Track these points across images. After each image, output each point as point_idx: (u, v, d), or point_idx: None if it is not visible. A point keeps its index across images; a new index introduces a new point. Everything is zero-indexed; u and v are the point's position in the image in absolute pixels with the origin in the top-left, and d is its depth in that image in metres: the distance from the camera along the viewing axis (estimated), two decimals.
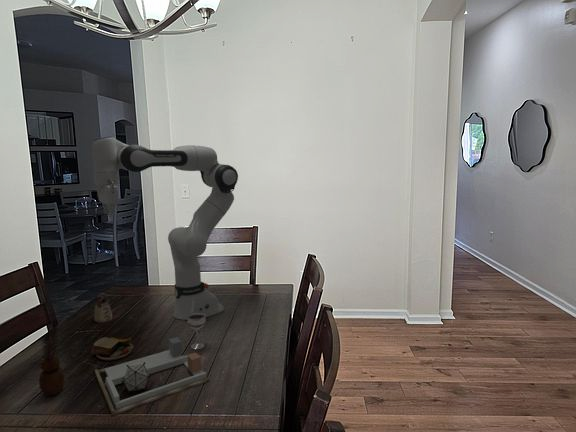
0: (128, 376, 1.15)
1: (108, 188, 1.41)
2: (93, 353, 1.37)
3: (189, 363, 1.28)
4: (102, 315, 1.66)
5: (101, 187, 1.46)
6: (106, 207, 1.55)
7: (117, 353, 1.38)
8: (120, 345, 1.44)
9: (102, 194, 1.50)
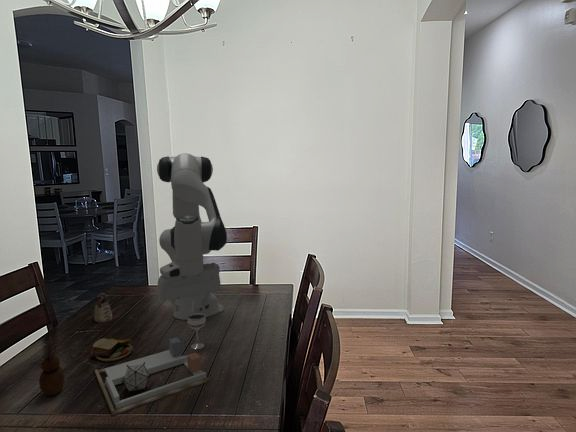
0: (128, 376, 1.15)
1: (217, 271, 1.28)
2: (92, 354, 1.36)
3: (189, 363, 1.28)
4: (102, 315, 1.66)
5: (198, 275, 1.23)
6: (174, 303, 1.23)
7: (117, 354, 1.37)
8: (119, 346, 1.43)
9: (189, 285, 1.23)
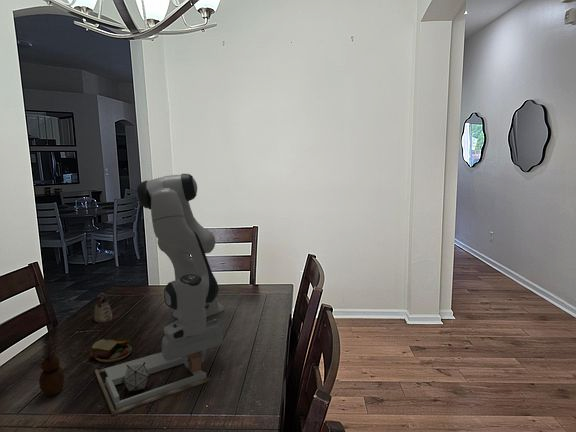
0: (128, 376, 1.15)
1: (220, 327, 1.31)
2: (92, 355, 1.35)
3: None
4: (102, 315, 1.66)
5: (201, 333, 1.26)
6: None
7: (116, 355, 1.36)
8: (118, 347, 1.43)
9: (193, 343, 1.25)
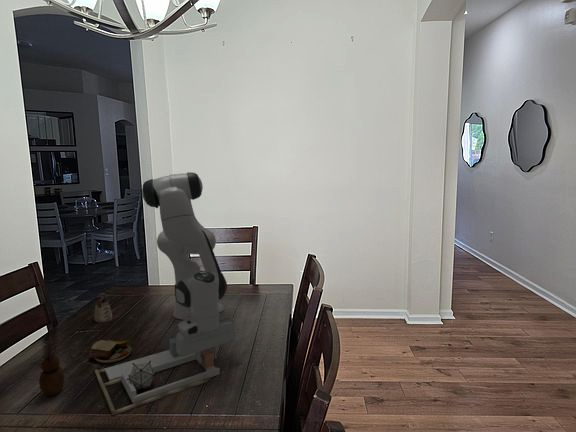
0: (133, 374, 1.16)
1: (232, 323, 1.34)
2: (91, 356, 1.35)
3: None
4: (102, 315, 1.66)
5: (214, 330, 1.29)
6: (199, 355, 1.29)
7: (116, 355, 1.36)
8: (117, 347, 1.42)
9: (206, 339, 1.28)
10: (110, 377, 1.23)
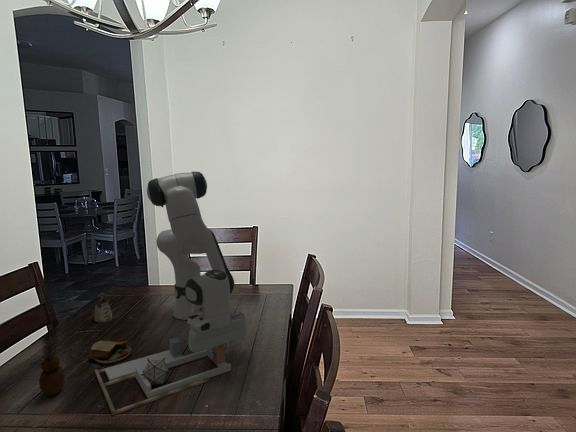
0: (147, 370, 1.18)
1: (243, 320, 1.36)
2: (91, 357, 1.34)
3: None
4: (102, 315, 1.66)
5: (226, 326, 1.31)
6: (210, 351, 1.32)
7: (116, 356, 1.36)
8: (117, 348, 1.42)
9: (218, 336, 1.31)
10: (110, 377, 1.23)
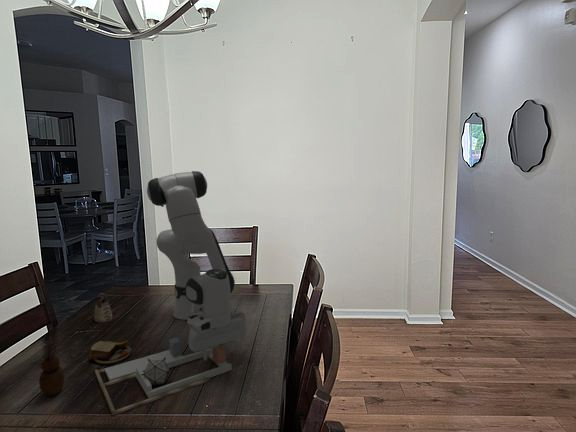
0: (148, 370, 1.18)
1: (243, 320, 1.36)
2: (91, 358, 1.34)
3: (214, 355, 1.33)
4: (102, 315, 1.66)
5: (226, 326, 1.31)
6: (204, 352, 1.30)
7: (116, 356, 1.36)
8: (117, 348, 1.42)
9: (218, 335, 1.31)
10: (110, 377, 1.23)
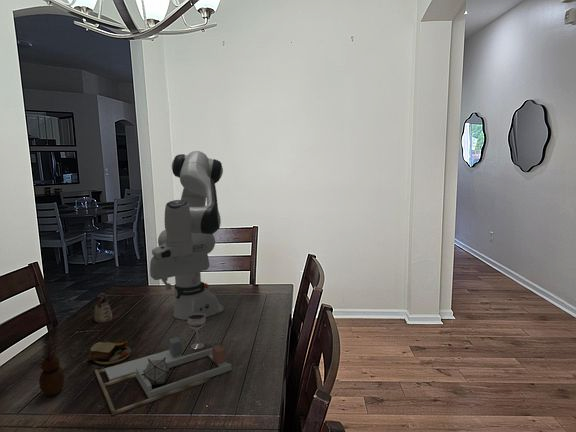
0: (148, 370, 1.18)
1: (206, 252, 1.38)
2: (90, 358, 1.33)
3: (214, 355, 1.33)
4: (102, 315, 1.66)
5: (188, 256, 1.32)
6: (166, 282, 1.32)
7: (116, 357, 1.35)
8: (116, 349, 1.41)
9: (180, 265, 1.32)
10: (110, 377, 1.23)
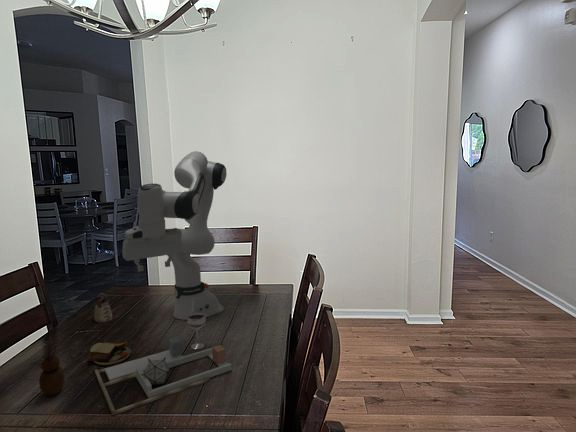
0: (148, 370, 1.18)
1: (179, 235, 1.40)
2: (90, 359, 1.33)
3: (214, 355, 1.33)
4: (102, 315, 1.66)
5: (160, 238, 1.35)
6: (138, 264, 1.34)
7: (116, 357, 1.35)
8: (116, 349, 1.41)
9: (152, 247, 1.35)
10: (110, 377, 1.23)
